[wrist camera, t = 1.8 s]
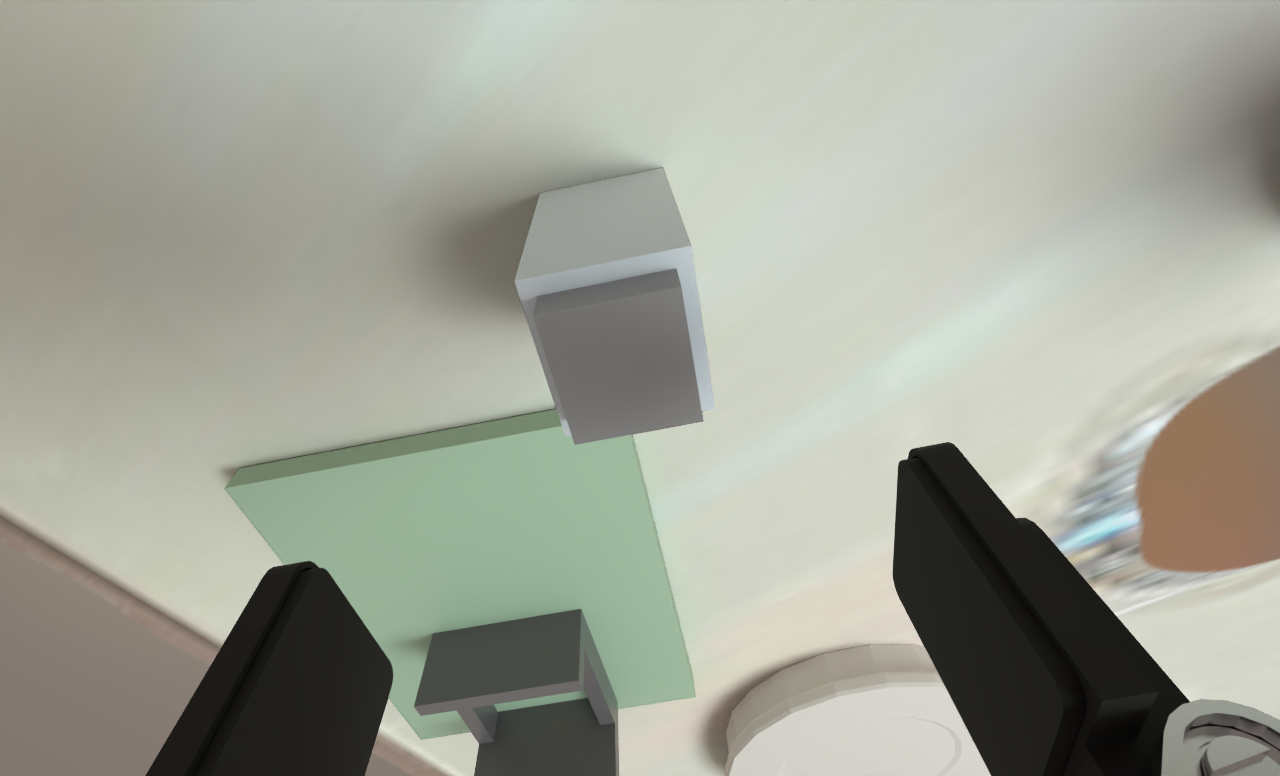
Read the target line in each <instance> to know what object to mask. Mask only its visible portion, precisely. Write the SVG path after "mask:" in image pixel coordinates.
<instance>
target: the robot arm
mask: <svg viewBox="0 0 1280 776" xmlns="http://www.w3.org/2000/svg"><path fill="white" fill-rule="evenodd" d="M893 580H894V585H895V588H896V591H897V594H898V596H899V598H900V600H901V602H902V604H903V606H904V608H905V610H906V612H907V614H908V616H909V618H910V620H911V621H912V623H913V625H914V627H915V629H916V631H917V633H918V635H919V637H920V639H921V641H922V643H923V645H924V647H925V649H926V651H927V652H928V654H929V656H930V658H931V660H932V662H933V664H934V666H935V668H936V670H937V672H938V674H939V676H940V678H941V680H942V682H943V683H944V685H945V687H946V689H947V691H948V693H949V695H950V697H951V699H952V701H953V703H954V705H955V707H956V709H957V711H958V713H959V714H960V716H961V718H962V720H963V722H964V724H965V726H966V728H967V730H968V732H969V734H970V736H971V738H972V740H973V742H974V744H975V745H976V747H977V749H978V751H979V753H980V755H981V757H982V759H983V761H984V763H985V765H986V767H987V769H988V771H989V773H990V775H991V776H1280V720H1279V719H1276V718H1274V717H1272V716H1270V715H1268V714H1266V713H1263V712H1261V711H1259V710H1257V709H1255V708H1252V707H1248V706H1244V705H1240V704H1237V703H1233V702H1229V701H1224V700H1204V699H1201V700H1197V701H1193V702H1190V701H1189V700H1188V699H1187V698H1186V697H1185V696H1184V694H1183V693H1182V692H1181V691H1180V690H1179V689H1178V687H1177V686H1176V685H1175V684H1174V683H1173V682H1172V680H1171V679H1170V678H1169V677H1168V676H1167V675H1166V673H1165V672H1164V671H1163V670H1162V669H1161V668H1160V666H1159V665H1158V664H1157V663H1156V662H1155V661H1154V659H1153V658H1152V657H1151V656H1150V655H1149V654H1148V653H1147V651H1146V650H1145V649H1144V648H1143V647H1142V646H1141V644H1140V643H1139V642H1138V641H1137V640H1136V639H1135V637H1134V636H1133V635H1132V634H1131V633H1130V632H1129V630H1128V629H1127V628H1126V627H1125V626H1124V625H1123V623H1122V622H1121V621H1120V620H1119V619H1118V618H1117V616H1116V615H1115V614H1114V613H1113V612H1112V611H1111V609H1110V608H1109V607H1108V606H1107V605H1106V604H1105V603H1104V601H1103V600H1102V599H1101V598H1100V597H1099V596H1098V594H1097V593H1096V592H1095V591H1094V590H1093V589H1092V587H1091V586H1090V585H1089V584H1088V583H1087V582H1086V580H1085V579H1084V578H1083V577H1082V576H1081V575H1080V573H1079V572H1078V571H1077V570H1076V569H1075V568H1074V566H1073V565H1072V564H1071V563H1070V562H1069V561H1068V559H1067V558H1066V557H1065V556H1064V555H1063V554H1062V553H1061V551H1060V550H1059V549H1058V548H1057V547H1056V546H1055V544H1054V543H1053V542H1052V541H1051V540H1050V539H1049V537H1048V536H1047V535H1046V534H1045V533H1044V532H1043V530H1041V529H1040V528H1039V527H1038V526H1037V525H1036V524H1035V523H1034V522H1032V521H1030V520H1028V519H1026V518H1015V517H1014V516H1013V515H1012V513H1011V512H1010V511H1009V510H1008V509H1007V507H1006V506H1005V505H1004V504H1003V503H1002V501H1001V500H1000V499H999V498H998V497H997V495H996V494H995V493H994V492H993V490H992V489H991V488H990V487H989V486H988V484H987V483H986V482H985V481H984V480H983V478H982V477H981V476H980V475H979V474H978V472H977V471H976V470H975V469H974V468H973V466H972V465H971V464H970V463H969V461H968V460H967V459H966V458H965V457H964V455H963V454H962V453H961V452H960V451H959V449H958V448H957V447H956V446H955V445H954V444H952V443H950V442H947V443H942V444H936V445H931V446H925V447H920V448H915V449H911V451H910V452H909V456H908V459H907V460H902V461H900V462H899V466H898V481H897V501H896V520H895V540H894V559H893ZM392 683H393V668H392V664H391V662H390V660H389V659H388V657H387V656H386V655H385V653H384V652H383V650H382V649H381V647H380V646H379V644H378V643H377V642H376V640H375V639H374V637H373V636H372V634H371V633H370V631H369V630H368V629H367V627H366V626H365V624H364V623H363V621H362V620H361V618H360V617H359V615H358V614H357V613H356V611H355V610H354V608H353V607H352V605H351V604H350V602H349V601H348V600H347V598H346V597H345V595H344V594H343V592H342V591H341V589H340V588H339V587H338V585H337V584H336V582H335V581H334V579H333V578H332V576H331V575H330V574H329V572H328V571H327V570H326V569H324V568H319V567H318V566H317V565H316V564H315V563H314V562H311V561H304V562H299V563H293V564H288V565H283V566H277V567H273V568H271V569H270V570H268V571H267V573H266V574H265V575H264V576H263V578H262V580H261V582H260V583H259V585H258V587H257V588H256V590H255V592H254V593H253V595H252V597H251V598H250V600H249V602H248V604H247V605H246V607H245V609H244V610H243V612H242V614H241V615H240V617H239V619H238V620H237V622H236V624H235V625H234V627H233V629H232V631H231V632H230V634H229V636H228V637H227V639H226V641H225V642H224V644H223V646H222V647H221V649H220V651H219V653H218V654H217V656H216V658H215V659H214V661H213V663H212V664H211V666H210V668H209V670H208V671H207V673H206V674H205V676H204V678H203V680H202V681H201V683H200V685H199V686H198V688H197V690H196V691H195V693H194V695H193V697H192V698H191V700H190V701H189V703H188V705H187V707H186V708H185V710H184V712H183V714H182V715H181V717H180V718H179V720H178V722H177V724H176V725H175V727H174V729H173V730H172V732H171V734H170V735H169V737H168V739H167V740H166V742H165V744H164V745H163V747H162V749H161V751H160V752H159V754H158V756H157V757H156V759H155V761H154V762H153V764H152V766H151V767H150V769H149V771H148V772H147V774H146V776H365V772H366V769H367V765H368V763H369V759H370V756H371V753H372V749H373V746H374V743H375V740H376V736H377V733H378V730H379V727H380V723H381V720H382V717H383V713H384V710H385V707H386V704H387V700H388V697H389V694H390V690H391V687H392Z"/></svg>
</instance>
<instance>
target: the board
mask: <svg viewBox="0 0 1280 776" xmlns="http://www.w3.org/2000/svg"><path fill="white" fill-rule="evenodd" d="M224 489H225V490H226V491H227V492H228V494H229V495H230V496H231V497H232V499H233V500H234V501H235V503H236V504H237V505H238V506H239V508H240V509H241V510H242V512H243V513H244V514H245V515H246V517H247V518H248V519H249V520H250V522H251V523H252V524H253V526H254V527H255V528H256V529H257V531H258V532H259V533H260V535H261V536H262V537H263V538H264V540H265V541H266V542H267V543H268V545H269V546H270V547H271V549H272V550H273V551H274V552H275V554H276V555H277V556H278V558H279V559H280V560H281V561H282V563H283V564H284V565H288V564H293V563H299V562H304V561H311V562H314V563H315V564H316V565H317V566H318V567H319V568H324V569H326V570H327V571H328V572H329V574H330V575H331V576H332V578H333V579H334V581H335V582H336V584H337V585H338V587H339V588H340V589H341V591H342V592H343V594H344V595H345V597H346V598H347V600H348V601H349V602H350V604H351V605H352V607H353V608H354V610H355V611H356V613H357V614H358V615H359V617H360V618H361V620H362V621H363V623H364V624H365V626H366V627H367V629H368V630H369V631H370V633H371V634H372V636H373V637H374V639H375V640H376V642H377V643H378V644H379V646H380V647H381V649H382V650H383V652H384V653H385V655H386V656H387V657H388V659H389V660H390V662H391V664H392V668H393V683H392V687H391V690H390V694H389V697H388V698H389V699H390V701H391V702H392V703H393V704H394V706H395V707H396V708H397V710H398V711H399V712H400V713H401V715H402V716H403V717H404V719H405V720H406V721H407V722H408V724H409V725H410V726H411V727H412V729H413V730H414V731H415V733H416V734H417V735H418V736H419V738H420V739H421V740H423V739H429V738H435V737H442V736H448V735H455V734H461V733H468V732H471V731H470V730H469V728H468V727H467V725H466V724H465V722H464V721H463V719H462V718H461V716H460V715H459V713H458V712H457V710H456V711H450V712H444V713H437V714H431V715H425V716H420V714H419V713H418V712H417V710H416V709H415V708H414V704H415V700H416V696H417V692H418V688H419V685H420V681H421V677H422V673H423V669H424V666H425V662H426V658H427V654H428V650H429V646H430V643H431V639H432V635H433V633H438V632H444V631H450V630H456V629H462V628H468V627H474V626H480V625H486V624H492V623H498V622H504V621H510V620H516V619H522V618H528V617H534V616H540V615H546V614H552V613H558V612H564V611H570V610H576V609H582V612H583V614H584V617H585V619H586V622H587V625H588V627H589V630H590V632H591V635H592V637H593V640H594V642H595V645H596V648H597V650H598V653H599V655H600V658H601V660H602V663H603V666H604V668H605V671H606V673H607V676H608V678H609V681H610V683H611V686H612V689H613V691H614V694H615V696H616V699H617V702H618V709H622V708H628V707H635V706H641V705H648V704H654V703H660V702H667V701H673V700H680V699H686V698H693V697H696V695H695V688H694V680H693V675H692V671H691V667H690V663H689V659H688V655H687V651H686V647H685V643H684V639H683V635H682V631H681V627H680V623H679V619H678V615H677V611H676V607H675V603H674V599H673V595H672V591H671V587H670V583H669V579H668V575H667V571H666V567H665V563H664V559H663V555H662V551H661V547H660V543H659V539H658V535H657V531H656V527H655V523H654V519H653V515H652V511H651V507H650V503H649V499H648V495H647V491H646V487H645V483H644V479H643V475H642V471H641V467H640V463H639V459H638V455H637V451H636V447H635V443H634V439H633V435H627V436H621V437H616V438H610V439H605V440H599V441H594V442H589V443H583V444H578V445H575V444H574V441H573V438H572V436H568V437H565V434H564V431H563V428H562V425H561V422H560V419H559V416H558V413H557V410H556V409H553V410H548V411H543V412H537V413H532V414H527V415H521V416H516V417H511V418H505V419H500V420H495V421H489V422H484V423H478V424H473V425H468V426H462V427H457V428H452V429H446V430H441V431H436V432H430V433H425V434H420V435H414V436H409V437H404V438H398V439H393V440H388V441H382V442H377V443H372V444H366V445H361V446H355V447H350V448H345V449H339V450H334V451H329V452H323V453H318V454H313V455H307V456H302V457H297V458H291V459H286V460H281V461H275V462H270V463H265V464H259V465H254V466H248V467H243V468H239V470H238V471H237V472H236V474H235V475H234V476H233V478H232V479H231V480H230V482H229V483H228V484H227V486H226V487H225V488H224ZM583 698H588V697H587V694H586V692H585V690H584V688H583V691H576V692H570V693H564V694H557V695H551V696H545V697H538V698H532V699H526V700H520V701H513V702H507V703H501V704H494V706H495V708H496V709H497V711H498V712H500V711H506V710H513V709H519V708H526V707H532V706H538V705H545V704H551V703H557V702H564V701H570V700H576V699H583Z"/></svg>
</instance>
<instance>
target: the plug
mask: <svg viewBox="0 0 1280 776" xmlns="http://www.w3.org/2000/svg"><path fill="white" fill-rule="evenodd" d="M514 283H515V286H516V289H517V292H518V295H519V298H520V301H521V304H522V307H523V310H524V313H525V316H526V319H527V322H528V325H529V328H530V331H531V334H532V337H533V340H534V343H535V346H536V349H537V352H538V355H539V358H540V361H541V364H542V367H543V370H544V373H545V376H546V380H547V383H548V386H549V389H550V392H551V395H552V398H553V401H554V404H555V407H556V410H557V413H558V416H559V419H560V422H561V425H562V428H563V431H564V434H565V437H568V436H572V438H573V441H574V444H575V445H578V444H583V443H589V442H594V441H599V440H605V439H610V438H616V437H621V436H627V435H632V434H637V433H643V432H648V431H654V430H659V429H665V428H670V427H675V426H681V425H686V424H692V423H697V422H703V416H702V412H703V411H708V410H714V409H715V403H714V397H713V390H712V383H711V376H710V370H709V363H708V356H707V349H706V342H705V336H704V329H703V322H702V315H701V308H700V302H699V295H698V288H697V281H696V275H695V268H694V261H693V254H692V247H691V244H690V241H689V238H688V235H687V232H686V230H685V227H684V224H683V221H682V218H681V215H680V213H679V210H678V207H677V204H676V201H675V199H674V196H673V193H672V190H671V187H670V185H669V182H668V179H667V176H666V173H665V170H664V168H658V169H653V170H648V171H643V172H639V173H634V174H629V175H624V176H619V177H615V178H610V179H605V180H600V181H596V182H591V183H586V184H581V185H576V186H572V187H567V188H562V189H557V190H553V191H548V192H543V193H540V196H539V199H538V202H537V206H536V209H535V212H534V216H533V219H532V223H531V226H530V229H529V233H528V236H527V240H526V243H525V246H524V250H523V253H522V256H521V260H520V263H519V267H518V270H517V273H516V277H515V280H514Z"/></svg>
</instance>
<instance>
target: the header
mask: <svg viewBox="0 0 1280 776" xmlns="http://www.w3.org/2000/svg"><path fill="white" fill-rule="evenodd" d="M583 688H584V690H585V692H586V694H587V697H588V698H583V699H576V700H570V701H564V702H557V703H551V704H545V705H538V706H532V707H526V708H519V709H513V710H506V711H500V712H498V711H497V709H496V708H495V706H494V704H501V703H507V702H513V701H520V700H526V699H532V698H538V697H545V696H551V695H557V694H564V693H570V692H576V691H583ZM414 708H415V709H416V710H417V712H418V713H419V714H420V716H425V715H431V714H437V713H444V712H450V711H456V710H457V712H458V713H459V715H460V716H461V718H462V719H463V721H464V722H465V724H466V725H467V727H468V728H469V730H470V731H471V732H472V734H473V735H474V737H475V738H476V740H477V741H478V743H479V749H478V755H477V762H476V768H475V774H474V776H619V748H618V702H617V699H616V696H615V694H614V691H613V689H612V686H611V683H610V681H609V678H608V676H607V673H606V671H605V668H604V666H603V663H602V660H601V658H600V655H599V653H598V650H597V648H596V645H595V642H594V640H593V637H592V635H591V632H590V630H589V627H588V625H587V622H586V619H585V617H584V614H583V612H582V609H576V610H570V611H564V612H558V613H552V614H546V615H540V616H534V617H528V618H522V619H516V620H510V621H504V622H498V623H492V624H486V625H480V626H474V627H468V628H462V629H456V630H450V631H444V632H438V633H433V635H432V639H431V643H430V646H429V650H428V654H427V658H426V662H425V666H424V669H423V673H422V677H421V681H420V685H419V688H418V692H417V696H416V700H415V704H414Z"/></svg>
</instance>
